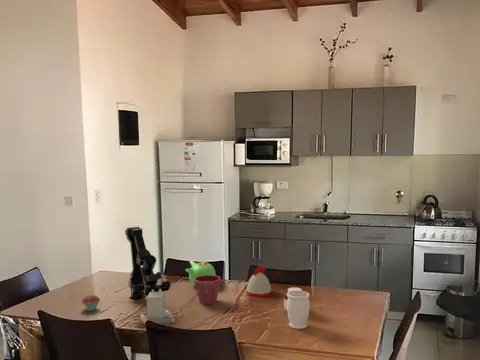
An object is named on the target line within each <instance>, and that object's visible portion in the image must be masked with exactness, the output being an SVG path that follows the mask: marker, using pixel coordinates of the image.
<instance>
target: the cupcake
mask: <svg viewBox="0 0 480 360" xmlns="http://www.w3.org/2000/svg"><path fill="white" fill-rule="evenodd" d="M94 291H95V287H94V286H93V287H92V293H91V294H90V295H86V296H84V297H83V298H82V301H81V304H82V305H84V306H85V310H86V311H89V312H90V311H91V312H92V311H95V310H97V307H98V303H100V300H101V299H100V297H99V296H97V295H95V293H94Z"/></svg>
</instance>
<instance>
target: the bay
mask: <svg viewBox="0 0 480 360" xmlns="http://www.w3.org/2000/svg"><path fill="white" fill-rule="evenodd" d="M140 320H141V322H142V323H143V324H144V325H145V322H146V321H147V320H148V317H146V316H145V315H144V314H142V313H141V314H140ZM151 321H154V322H157V323H161V324H160V325H164V324H169V323H170V324H171V323H175V321H176V318H175V316H174V315H173V314H172V313H171V312H170V310H168V309H165V317H164V318H162V319H156V320H151Z"/></svg>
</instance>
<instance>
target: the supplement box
mask: <svg viewBox="0 0 480 360" xmlns="http://www.w3.org/2000/svg"><path fill="white" fill-rule="evenodd" d="M165 299H166V298H165V291H159V292H153V291H152V292H149V295H148V297H147V296H146V308H147V309H146V311H147V313H146V315H147V319H148V320H156V319H162V318H166V315H165V310H166V307H165V305H166V301H165Z"/></svg>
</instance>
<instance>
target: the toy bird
mask: <svg viewBox="0 0 480 360" xmlns="http://www.w3.org/2000/svg"><path fill="white" fill-rule="evenodd" d="M189 264H190V266H191V267H190V268H186V269H185V272H186V273H188V277H189V281H190V282H191V283H192V284H193V285H194V279H195V278H196V277H198V276H203V275H215V276H217V274H216V270H215V268H214V266H213V265H212V264H210V263H208V261H202V262H201V261H200V262H194V261H193V260H189Z"/></svg>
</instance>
